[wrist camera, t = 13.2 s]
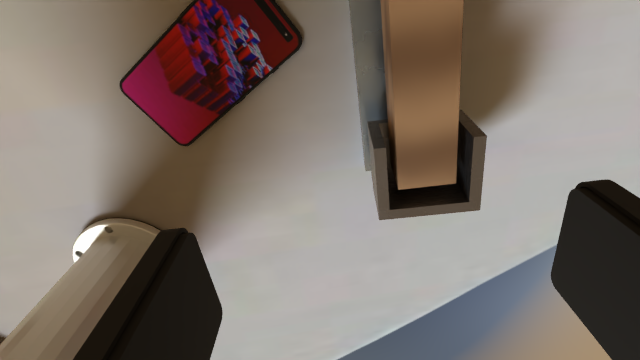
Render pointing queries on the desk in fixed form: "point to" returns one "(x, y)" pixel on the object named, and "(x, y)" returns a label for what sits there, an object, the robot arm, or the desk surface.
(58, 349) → the robot arm
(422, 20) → the brown tall rectangular block
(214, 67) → the smartphone
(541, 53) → the desk surface
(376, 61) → the bracket stand
